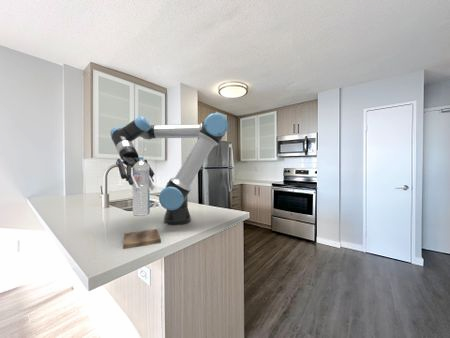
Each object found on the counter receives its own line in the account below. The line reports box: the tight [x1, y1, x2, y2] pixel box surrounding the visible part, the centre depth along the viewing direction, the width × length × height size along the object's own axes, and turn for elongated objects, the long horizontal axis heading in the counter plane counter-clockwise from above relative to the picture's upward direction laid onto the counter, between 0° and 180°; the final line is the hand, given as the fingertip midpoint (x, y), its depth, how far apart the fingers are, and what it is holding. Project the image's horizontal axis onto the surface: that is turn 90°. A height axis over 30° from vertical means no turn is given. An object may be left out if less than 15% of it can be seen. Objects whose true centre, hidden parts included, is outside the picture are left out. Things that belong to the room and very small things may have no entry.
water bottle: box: [131, 156, 151, 217], centre depth 84 cm, size 7×7×25 cm
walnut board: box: [122, 228, 162, 250], centre depth 84 cm, size 14×14×2 cm
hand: (145, 188), depth 81 cm, fingers closed on water bottle, 7 cm apart
